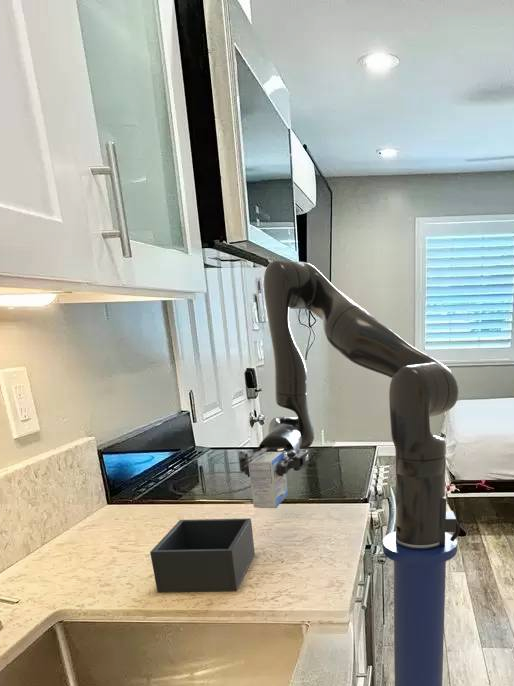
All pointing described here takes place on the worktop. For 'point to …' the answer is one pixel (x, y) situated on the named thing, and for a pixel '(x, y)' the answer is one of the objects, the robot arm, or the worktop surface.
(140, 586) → the worktop surface
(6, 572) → the worktop surface
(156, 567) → the storage bin
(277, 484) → the medicine box
